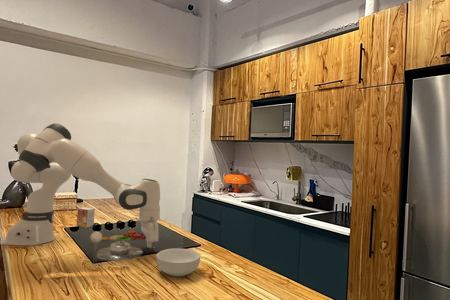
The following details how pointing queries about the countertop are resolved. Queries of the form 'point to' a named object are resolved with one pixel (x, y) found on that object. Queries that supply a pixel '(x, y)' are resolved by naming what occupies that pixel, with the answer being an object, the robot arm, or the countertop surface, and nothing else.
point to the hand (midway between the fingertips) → (149, 246)
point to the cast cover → (120, 248)
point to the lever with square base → (95, 243)
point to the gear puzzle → (127, 236)
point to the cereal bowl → (178, 261)
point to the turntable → (133, 253)
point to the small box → (85, 217)
